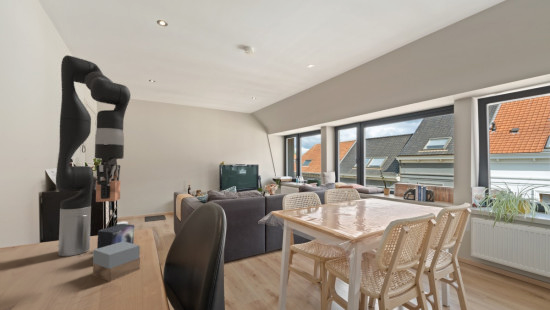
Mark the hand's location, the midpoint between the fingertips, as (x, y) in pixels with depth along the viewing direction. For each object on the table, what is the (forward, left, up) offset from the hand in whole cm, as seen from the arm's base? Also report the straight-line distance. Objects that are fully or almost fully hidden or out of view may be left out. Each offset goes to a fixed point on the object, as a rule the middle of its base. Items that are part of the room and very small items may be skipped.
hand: (108, 197), depth 74 cm
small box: (-12, +10, -24) cm, 29 cm away
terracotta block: (0, 0, -1) cm, 1 cm away
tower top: (+2, +2, -20) cm, 20 cm away
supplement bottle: (-20, +17, -24) cm, 36 cm away
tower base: (+2, +2, -24) cm, 24 cm away
